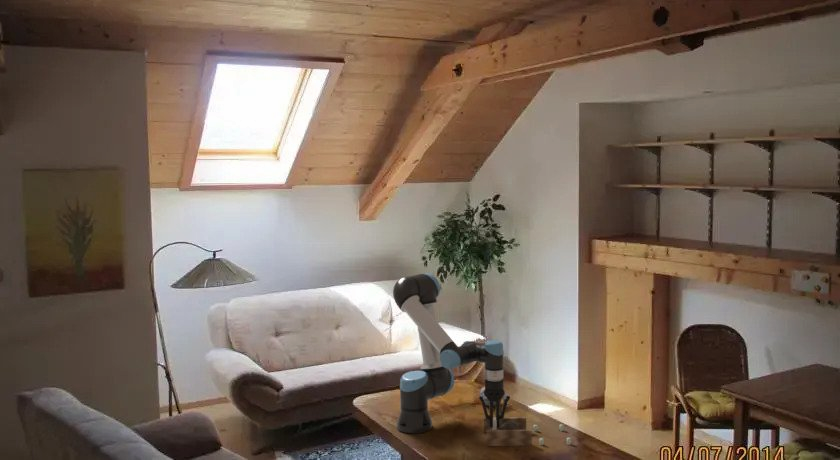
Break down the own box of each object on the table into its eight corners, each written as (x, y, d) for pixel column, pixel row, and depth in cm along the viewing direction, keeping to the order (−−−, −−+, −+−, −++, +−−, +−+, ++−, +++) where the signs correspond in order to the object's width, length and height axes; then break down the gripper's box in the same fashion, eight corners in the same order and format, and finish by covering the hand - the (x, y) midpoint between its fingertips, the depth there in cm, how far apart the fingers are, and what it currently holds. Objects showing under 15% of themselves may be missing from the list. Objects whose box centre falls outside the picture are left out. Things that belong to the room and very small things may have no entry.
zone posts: (539, 445, 301) (539, 439, 301) (533, 430, 317) (533, 424, 317) (571, 444, 301) (571, 439, 301) (563, 429, 317) (563, 424, 317)
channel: (486, 446, 301) (486, 431, 300) (483, 431, 317) (483, 417, 316) (531, 445, 301) (531, 430, 300) (525, 430, 317) (525, 416, 316)
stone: (497, 450, 306) (511, 438, 300) (489, 431, 311) (502, 419, 305) (514, 447, 312) (528, 436, 306) (506, 429, 317) (520, 417, 311)
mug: (505, 404, 351) (505, 383, 350) (493, 412, 340) (493, 390, 339) (487, 400, 356) (487, 380, 355) (474, 408, 345) (474, 387, 344)
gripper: (478, 381, 303) (479, 438, 305) (511, 381, 303) (511, 438, 305) (477, 376, 310) (478, 431, 312) (509, 375, 310) (509, 431, 312)
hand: (494, 434), depth 309 cm, fingers closed
